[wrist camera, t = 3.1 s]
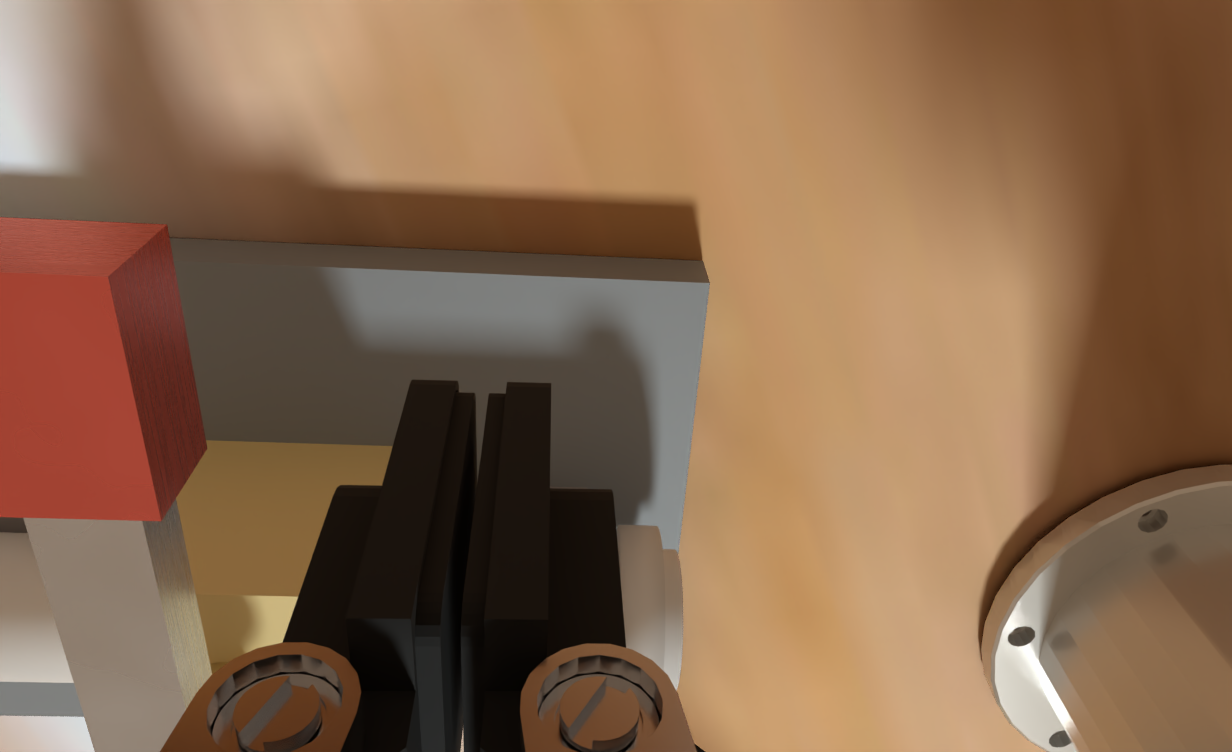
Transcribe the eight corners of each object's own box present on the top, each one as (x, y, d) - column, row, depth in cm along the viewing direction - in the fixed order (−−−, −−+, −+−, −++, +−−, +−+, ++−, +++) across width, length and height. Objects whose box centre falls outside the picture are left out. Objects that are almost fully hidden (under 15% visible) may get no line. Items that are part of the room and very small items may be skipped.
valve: (702, 260, 25) (762, 455, 17) (655, 689, 33) (679, 966, 24) (-162, 223, 24) (-554, 414, 15) (1, 679, 31) (-203, 966, 23)
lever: (277, 811, 20) (249, 900, 19) (137, 810, 20) (95, 900, 19) (173, 224, 14) (115, 277, 12) (-34, 215, 14) (-124, 266, 12)
